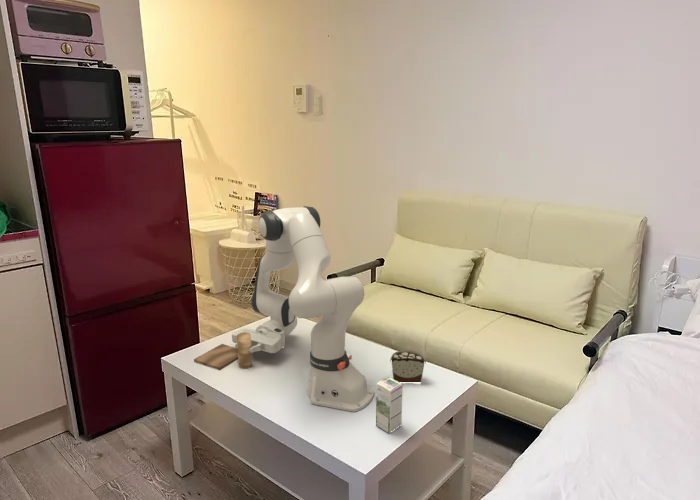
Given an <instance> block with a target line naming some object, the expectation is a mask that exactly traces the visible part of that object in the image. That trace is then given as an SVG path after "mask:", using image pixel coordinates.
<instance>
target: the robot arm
mask: <svg viewBox="0 0 700 500" xmlns="http://www.w3.org/2000/svg"><path fill="white" fill-rule="evenodd" d="M320 228H321V217H320V213H319V212H318V211H317V208H315V207H313V206H305V205H304V206H303V207H301V206H299V207H298V206H297V207H296V206H294V207H282V208H278V209H275V210H272V209H271V210H268V211H264V212H262V213H261V214H260V216H259V218H258V230H259V232H260V235H261V237H262V238H263V239H264V240H265V253H264V254H262V255H261V257H260V258H259V259H258V260H259V261H258V263H257V270H256V275H255V284H254V288H253V289H254V290H253V293H252V296H251V300H250V303H251V304H250V305H251V307H252V310H253V311H254V313H258V314H261V315H265V316H268V317H270V319H269V320H267V321H265V322H263V323H261V324H259V325H258V326H257V327H256V329H251V328H249V327H248V328H247V327H246V328H245V327H243V328H241V329H238V330H236V331H234V332H232V334H231V340H232V341H231V342H232V343H234V347H235V348H237V349H238V347H237V335H238V334H239V333H243V332H247V333H250V334H251V347H249V348H248V352H250V353H252V354H253V353H254V352H260V351H262V352H266V353H269V354H275V353H277V352H278V351H280V350H281V349H283V348H285V347H286V337H287V336H289V334H291V333H292V332H293V331H294V330H295V329H296V327H297V325H298V319H314V318H315V319H316V318H319V317H321V319H319V321H318V322H316V324H314V325H313V327H312V329H311V330H310V331H311V333H310V345H311V346H310V349H311V350H310V352H309V364H310V377H309V381H308V384H307V385H308V386H307V389H306V393H307V395H308V397H309V398H310V403H311V404H312V405H314V406H315V405H316V406H321V407H326V408H332V409H337V410H343V411H348V412H353V413H355V412H358V411H361V410H362V409H364V408H366V406H369V404H370V403H371V402H372V400H373V399H374V397H375V390H374V389H373V388H371V387H370V386H368V383H367V379H366V377H365V375H363V373H361V372H360V371H359V370H358V369H357V368H356V367H355V366H354V365H353V364H352V363H351V362H350V361H351V360H352V359H353V355H349V356H348V353H347V351H346V332H347V328H348V325H349V323H350V322H349V321H350V319H351V317H352V315H353V313H354V312H355V311H356V309H357V308H358V307H359V306H361V304H362V303H363V301H364V299H365V288H364V285H363V283H362V282H361V281H360V279H359V278H357V277H355V276H339V277H332V278H327V279H324V278H323V274H322V272H324V271H325V270H326V269H327V268H328V266H330V263H331V254H330V250H329V248H328V246H327V242H326V241H325V237H324V235H323V233H322V230H321V229H320ZM294 261H296V266H297V271H298V277H297V281H296V284H295V285H294V287H293V288H292V289H291V291H290V293H289V296H287V295H285V294H284V295H283V294H280V293H277V292H275V291H273V290H271V289H270V279H271V272H275V271H276V272H278V271H282V270H286V269H287V268H289V267H291V265H292V264H293V263H294Z"/></svg>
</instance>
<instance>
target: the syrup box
mask: <svg viewBox="0 0 700 500" xmlns="http://www.w3.org/2000/svg"><path fill="white" fill-rule="evenodd" d="M403 388H404V387H403V384H402V383H400V382H398V381H396V380H394V379H393V377H392V378H391V377H389V376H387V377H385V378H383V379H381V380H380V381H378V382H377V383H376V389H375V390H376V391H375V393H376V395H375V397H376V398H375V426H376V427H377V426H378V428H379V429H380V430H382V429H383V430H382V431H384V430H385V431H384V432H386V431H387V432H386V433H388V432H389V433H390V432H391V431H393V430H394V429H396V428H397V427H398V426H400V425H401V424H402V423H403V422H402V421H403V420H402V417H403V391H404V390H403ZM393 432H394V431H393ZM389 433H388V434H389ZM390 434H391V433H390Z"/></svg>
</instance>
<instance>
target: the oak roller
mask: <svg viewBox="0 0 700 500" xmlns="http://www.w3.org/2000/svg"><path fill="white" fill-rule="evenodd" d="M237 347H238V360H237V361H238V368H240V369H249V368H251V367H252V366H253V353H250V352H248V348H249V347H251V334H250V333H247V332H243V333H239V334H238V335H237Z"/></svg>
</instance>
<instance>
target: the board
mask: <svg viewBox="0 0 700 500" xmlns="http://www.w3.org/2000/svg"><path fill="white" fill-rule="evenodd" d="M236 361H238V349H237V348H235V346H231V345H227V344H224V343H220V344H219V345H217V346H215V347H213V348H212V349H210V350H208V351H206V352H204V353H202V354H201V355H199V356H197V357H195V358H193V362H195V363H197V364H200V365H203V366H205V367H209V368H212V369H214V370H219V371H222V370H223V369H225V368H226V367H227V366H229V365H230V364H233V363H234V362H236Z"/></svg>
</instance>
